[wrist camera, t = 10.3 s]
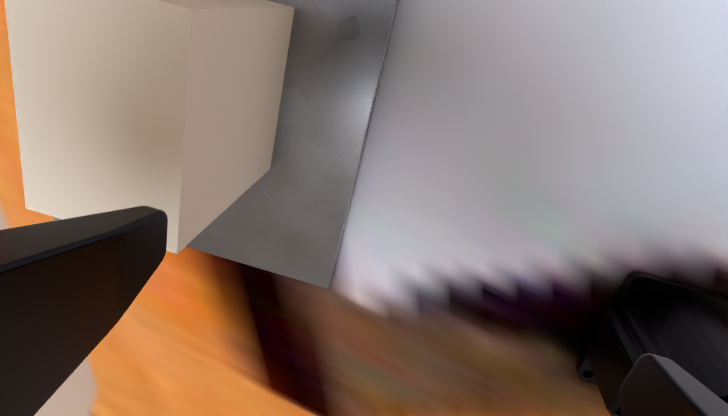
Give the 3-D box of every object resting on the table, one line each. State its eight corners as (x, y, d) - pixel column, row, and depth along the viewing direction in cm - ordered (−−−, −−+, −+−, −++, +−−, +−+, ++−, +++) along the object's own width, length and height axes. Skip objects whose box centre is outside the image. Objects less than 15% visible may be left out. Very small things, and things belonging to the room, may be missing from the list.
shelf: (475, -325, 14) (481, -408, 11) (331, 280, 24) (315, 317, 21) (73, -409, 15) (-17, -508, 12) (94, 209, 25) (47, 236, 22)
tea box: (294, 7, 18) (191, 9, 11) (270, 169, 21) (177, 254, 14) (173, -25, 18) (-5, -44, 11) (166, 139, 21) (21, 207, 14)
